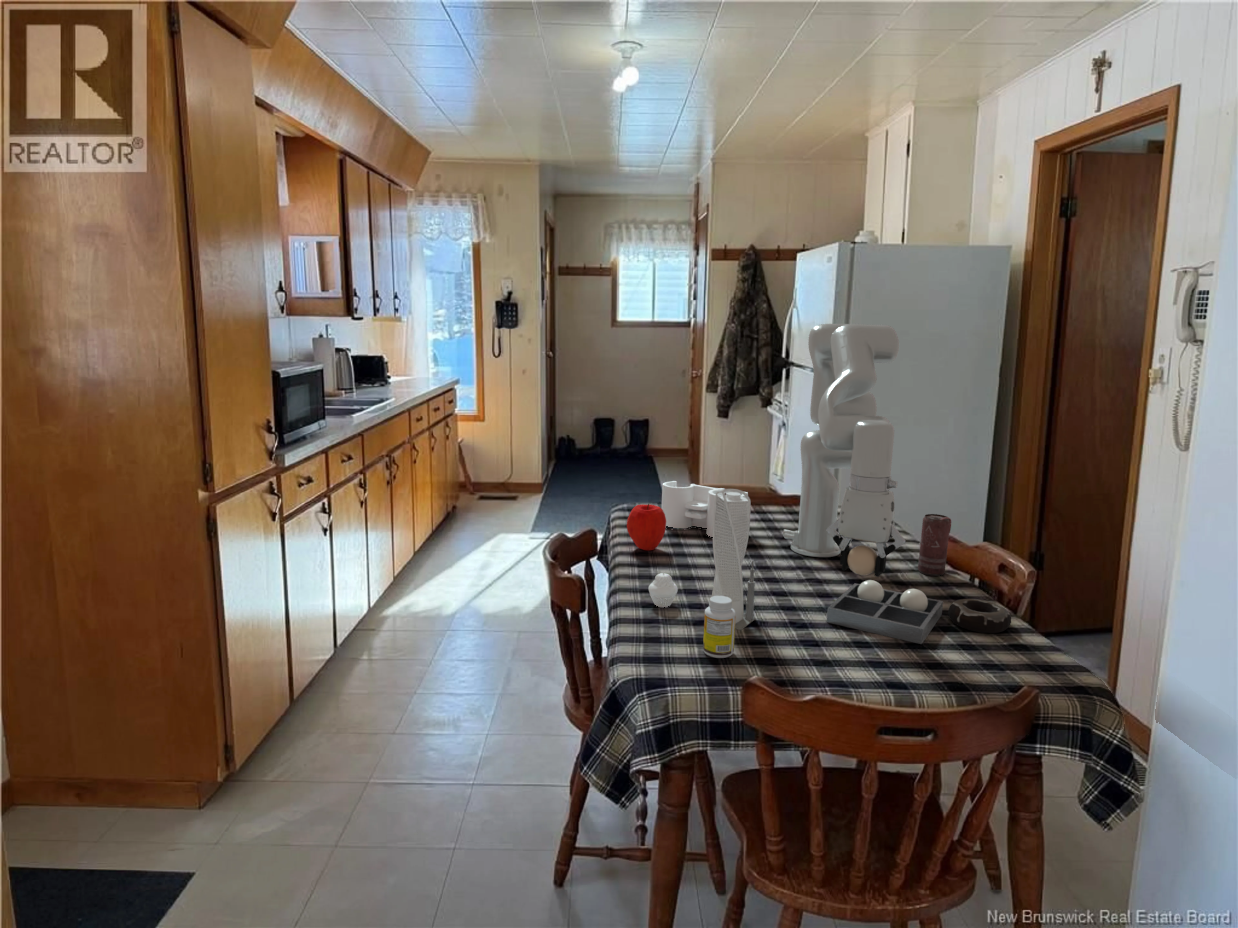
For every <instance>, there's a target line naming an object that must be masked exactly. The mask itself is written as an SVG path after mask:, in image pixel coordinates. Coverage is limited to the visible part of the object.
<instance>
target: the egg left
mask: <svg viewBox="0 0 1238 928" xmlns="http://www.w3.org/2000/svg"><path fill="white" fill-rule="evenodd" d="M859 584H860V586H859V587H858V591H857V594H858V598H861V599H866V600H871V601H875V602H881V601H882V600H883V598H884V590H883V589H884V587H883V586H882V585H881V584H880V583H879V582H878V581H876V580H872V579H868V580H865V581H862V582H861V583H859Z"/></svg>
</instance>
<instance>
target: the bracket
mask: <svg viewBox="0 0 1238 928" xmlns="http://www.w3.org/2000/svg"><path fill="white" fill-rule="evenodd" d="M725 489H726V488H724V487H723V488H722V487H720V488H718V487H711V486H705V485H699V484H695V483H691V484H689V486H684V487H683V486H682V487H679V486H678V481H676V480H672V481H665V482H663V483H662V489H661V509H662V510H663V512H664V514H665V517H666V526H668V527H673V528H688V527H691V526H697V527H702V528H707V529H706V534H707V535H708V537H709V536H710V537H709V538H711V537H713V517H714V506H715V496H716V493H717V492H719V491H723V490H725ZM744 492H745V493H746V494H747V495H748V496H749V492H748V491H744ZM718 495H723V494H722V493H721V494H718ZM741 496H743V497H744V498H746V497H745V496H744V495H743V494H742V493H741ZM746 499H747V498H746ZM691 528H692V527H691ZM706 534H705V535H706ZM707 535H706V536H707Z"/></svg>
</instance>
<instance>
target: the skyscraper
mask: <svg viewBox="0 0 1238 928" xmlns="http://www.w3.org/2000/svg"><path fill="white" fill-rule="evenodd" d="M724 489H725V490H723V491H719V492H717V493H716V496H715V506H714V517H713V538H712V552H713V560H714V566H715V567H714V568H715V572H714V577H713V584H712V585H713V586H712V592H711V597H713V596H725V597H729V598H730V599H731V600H732V609H734V610H735V612H736V618H735V630H738V631H742V630H743V629H745V628H746V627H747V626H749V625H750V624H751V623H752V622H753V621H755V620H756V618H755V616H754V614H755V613H754V609H755V604H756V602H755V587H756V581H754V578H755V577H754V574H755V568H754V562H755V561H754V559H753V560H751V568H750V571H749V573H750V574H749V580H748V581H747V592H746V593H747V595H746V602H745V615H744V587H743V586H744V583H743V571H742V570H743V569H742V565H743V562H744V559H745V555H746V553H747V552H746V551H747V547H748V543H749V542H748V541H749V535H750V525H751V501H752V500H751V498H750V496H749V494H748V495H747V494H746V493H745V492H746V491H743V490H741V489H737V488H724ZM721 493H722V494H723V495H718V494H721ZM742 494H743V495H744V496H745V497H746V498H747V499H746V498H744V497H743V496H741V495H742Z"/></svg>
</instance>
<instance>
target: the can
mask: <svg viewBox="0 0 1238 928" xmlns="http://www.w3.org/2000/svg"><path fill="white" fill-rule="evenodd" d="M951 529H952V519H951V518H950V517H948V516H947V515H945V514H944V515H942V514H937V513H928V514H925V515H924V517H923V518H922V526H921V533H920V534H921V535H920V542H919V543H920V544H919V545H920V546H919V552H918V553H919V554H918V564H917V569H918V570H917V571H918V572H919V573H921V574H923V575H926V576H931V577H941V576H943V575H944V574H945V573H946V566H947V565H946V564H947V556H948V546H949V539H950V538H949V537H950V533H951ZM940 575H941V576H940Z"/></svg>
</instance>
